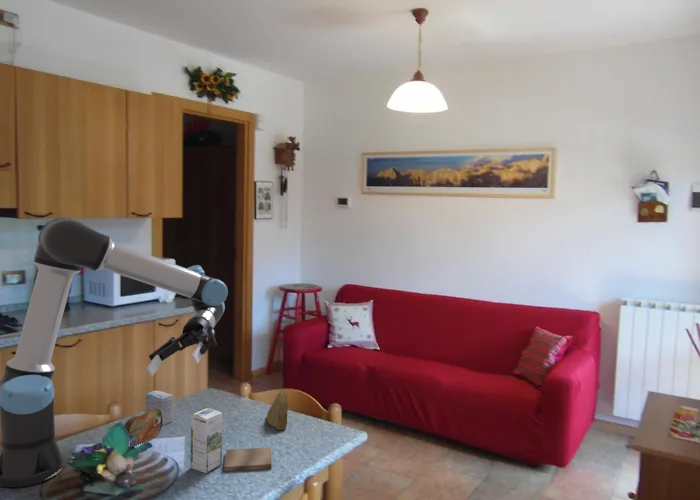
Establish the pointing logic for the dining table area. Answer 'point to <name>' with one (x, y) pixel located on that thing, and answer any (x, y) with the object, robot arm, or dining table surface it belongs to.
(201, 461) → the syrup box
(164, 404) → the medicine box
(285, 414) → the rock
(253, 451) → the walnut board
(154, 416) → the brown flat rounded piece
